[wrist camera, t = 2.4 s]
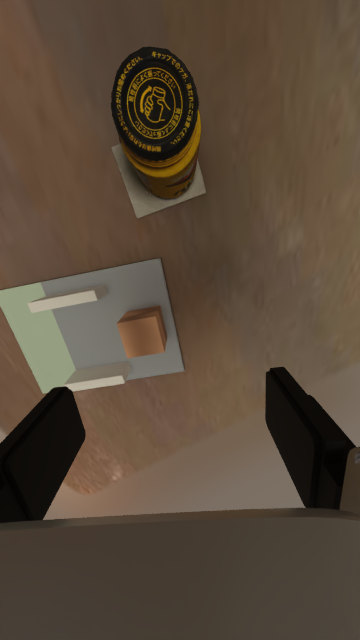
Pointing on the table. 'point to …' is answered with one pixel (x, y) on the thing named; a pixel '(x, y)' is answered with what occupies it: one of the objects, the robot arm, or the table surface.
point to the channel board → (90, 326)
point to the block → (143, 332)
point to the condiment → (157, 130)
